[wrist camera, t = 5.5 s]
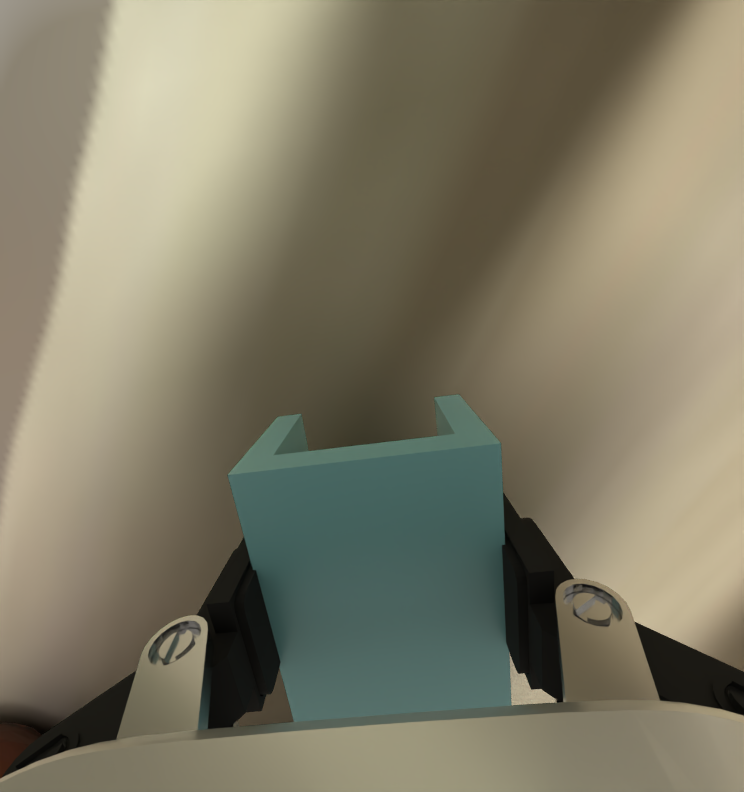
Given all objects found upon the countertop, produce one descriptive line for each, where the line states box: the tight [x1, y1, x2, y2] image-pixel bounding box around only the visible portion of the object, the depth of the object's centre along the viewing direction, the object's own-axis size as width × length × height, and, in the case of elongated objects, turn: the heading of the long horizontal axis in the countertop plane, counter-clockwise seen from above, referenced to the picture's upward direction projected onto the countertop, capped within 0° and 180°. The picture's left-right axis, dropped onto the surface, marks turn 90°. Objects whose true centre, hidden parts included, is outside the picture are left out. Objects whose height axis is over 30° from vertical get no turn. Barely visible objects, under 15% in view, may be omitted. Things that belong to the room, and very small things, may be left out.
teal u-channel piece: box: [228, 394, 511, 722], centre depth 12 cm, size 22×6×4 cm, turn 8°
